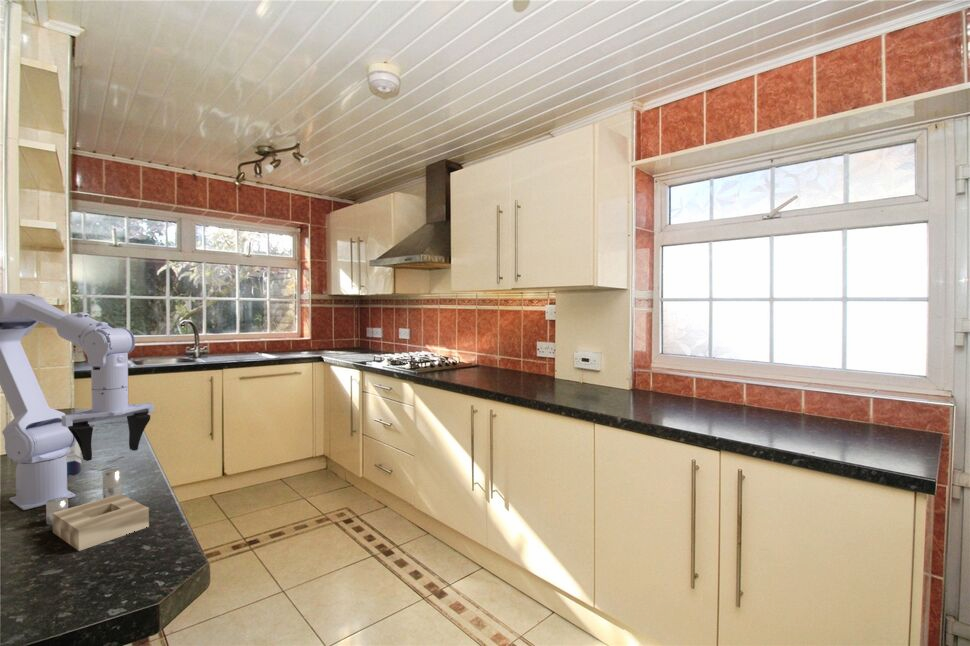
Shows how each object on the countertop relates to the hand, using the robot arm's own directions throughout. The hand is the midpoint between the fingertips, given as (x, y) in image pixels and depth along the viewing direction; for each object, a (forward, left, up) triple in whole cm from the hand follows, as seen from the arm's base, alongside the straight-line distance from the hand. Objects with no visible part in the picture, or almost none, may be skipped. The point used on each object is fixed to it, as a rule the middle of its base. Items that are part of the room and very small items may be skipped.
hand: (111, 454), depth 92 cm
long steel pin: (0, 0, -10) cm, 10 cm away
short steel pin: (0, -8, -10) cm, 13 cm away
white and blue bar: (-40, +6, -11) cm, 42 cm away
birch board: (+11, -5, -10) cm, 16 cm away
